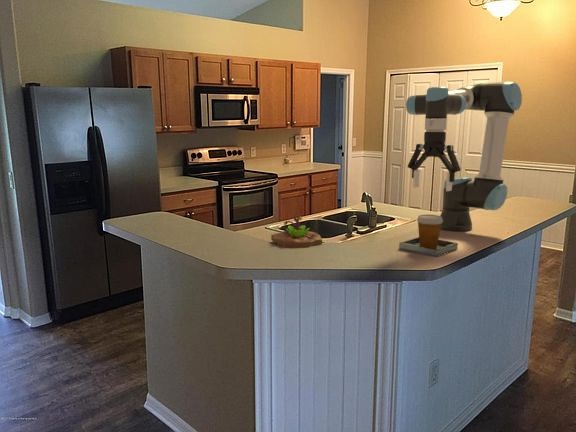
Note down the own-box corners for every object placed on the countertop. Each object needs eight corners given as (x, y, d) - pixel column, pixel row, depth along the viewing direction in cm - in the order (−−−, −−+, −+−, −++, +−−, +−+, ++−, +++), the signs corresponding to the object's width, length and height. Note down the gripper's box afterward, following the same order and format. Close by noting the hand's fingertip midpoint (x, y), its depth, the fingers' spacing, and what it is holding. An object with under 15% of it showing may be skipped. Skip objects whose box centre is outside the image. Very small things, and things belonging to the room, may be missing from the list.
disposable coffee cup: (440, 245, 186) (442, 214, 184) (441, 251, 177) (443, 219, 175) (415, 243, 189) (417, 213, 187) (415, 249, 180) (416, 218, 178)
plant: (282, 250, 183) (282, 221, 181) (266, 238, 201) (266, 212, 199) (330, 245, 190) (330, 217, 188) (309, 234, 208) (310, 209, 206)
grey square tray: (421, 241, 194) (421, 235, 194) (457, 249, 183) (457, 242, 182) (399, 248, 184) (399, 242, 183) (436, 257, 172) (436, 250, 172)
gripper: (400, 130, 181) (397, 186, 185) (462, 131, 163) (458, 193, 167) (411, 130, 186) (408, 184, 190) (472, 131, 168) (468, 191, 172)
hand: (431, 189), depth 179 cm, fingers open, 13 cm apart
